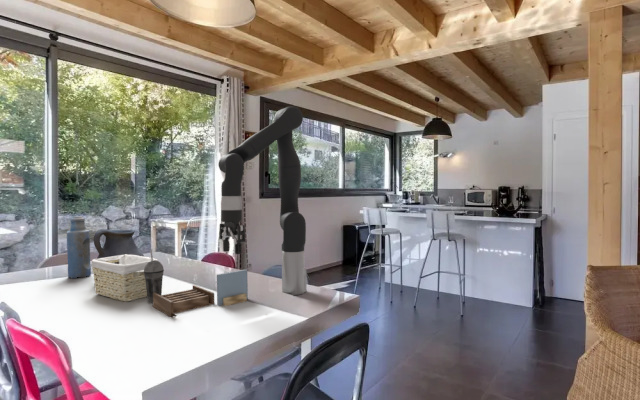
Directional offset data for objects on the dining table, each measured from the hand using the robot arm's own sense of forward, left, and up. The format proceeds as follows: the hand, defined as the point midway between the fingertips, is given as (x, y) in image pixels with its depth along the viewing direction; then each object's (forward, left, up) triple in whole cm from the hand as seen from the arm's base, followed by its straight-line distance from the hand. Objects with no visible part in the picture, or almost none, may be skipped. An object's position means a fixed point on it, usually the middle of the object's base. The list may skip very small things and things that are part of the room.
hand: (232, 252), depth 138 cm
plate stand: (0, 0, -19) cm, 19 cm away
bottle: (+30, -96, -19) cm, 103 cm away
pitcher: (+18, -73, -19) cm, 78 cm away
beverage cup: (+19, -25, -19) cm, 37 cm away
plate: (0, 0, -18) cm, 18 cm away
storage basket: (+24, -43, -20) cm, 53 cm away
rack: (+14, -10, -19) cm, 26 cm away
